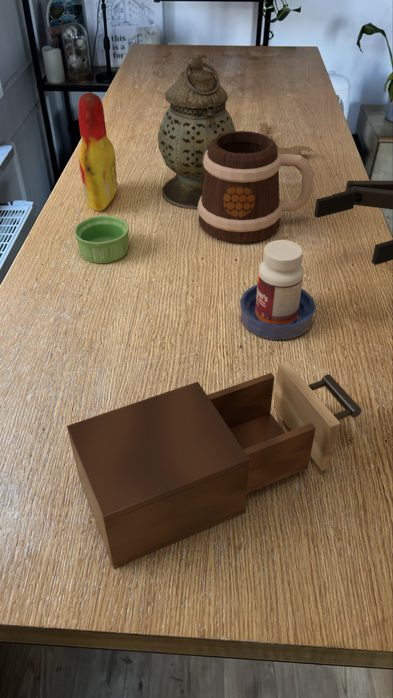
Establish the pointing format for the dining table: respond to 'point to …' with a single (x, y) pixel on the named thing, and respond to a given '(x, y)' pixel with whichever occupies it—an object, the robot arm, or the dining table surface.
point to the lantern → (191, 130)
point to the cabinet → (159, 471)
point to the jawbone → (293, 150)
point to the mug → (247, 187)
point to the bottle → (96, 154)
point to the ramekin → (102, 238)
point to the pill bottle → (279, 283)
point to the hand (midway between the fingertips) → (343, 230)
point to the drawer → (297, 412)
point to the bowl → (276, 331)
